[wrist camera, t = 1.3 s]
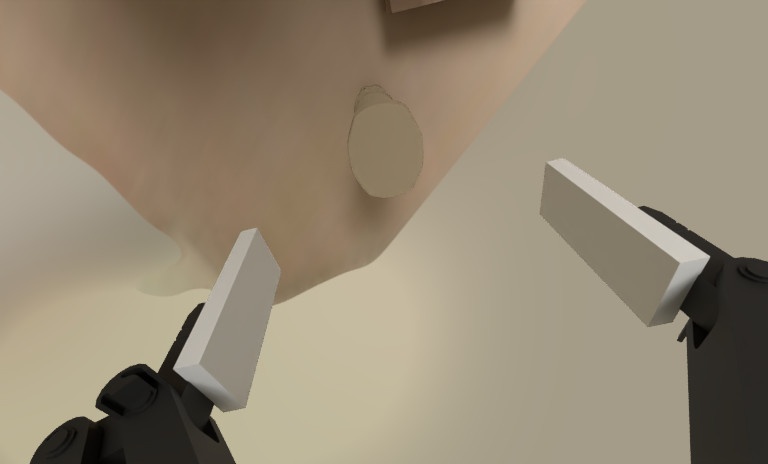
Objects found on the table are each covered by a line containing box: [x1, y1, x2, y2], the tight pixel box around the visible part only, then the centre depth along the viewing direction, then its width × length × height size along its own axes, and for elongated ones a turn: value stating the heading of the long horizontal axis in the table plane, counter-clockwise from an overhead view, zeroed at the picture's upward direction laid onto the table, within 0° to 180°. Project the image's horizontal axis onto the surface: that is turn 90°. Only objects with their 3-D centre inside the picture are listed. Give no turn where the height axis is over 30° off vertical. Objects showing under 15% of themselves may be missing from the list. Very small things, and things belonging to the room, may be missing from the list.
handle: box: [348, 85, 423, 198], centre depth 26 cm, size 5×6×15 cm
